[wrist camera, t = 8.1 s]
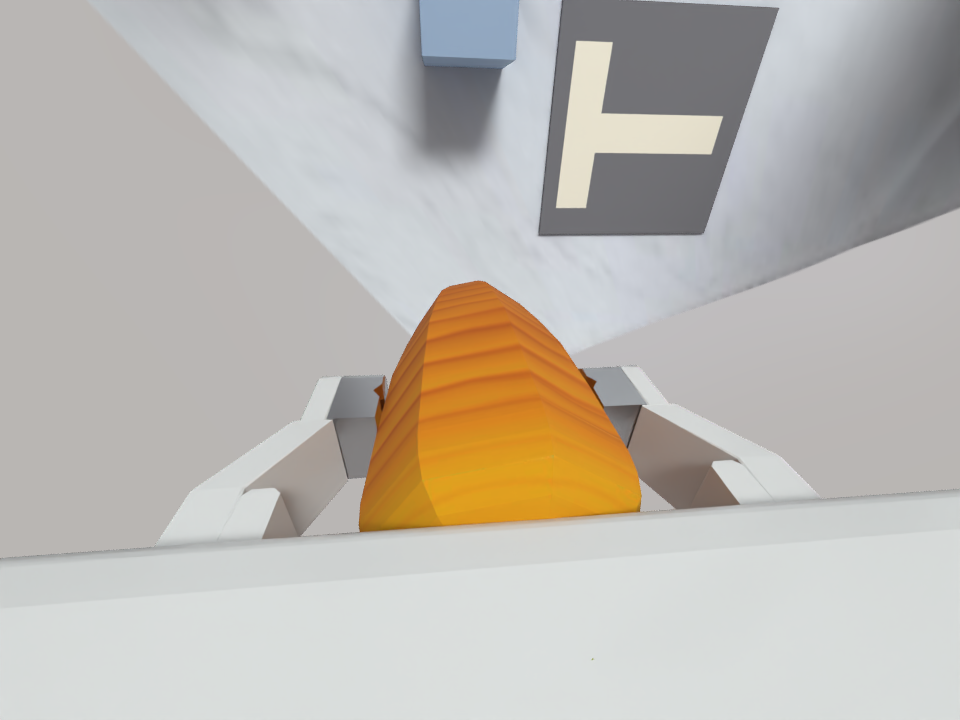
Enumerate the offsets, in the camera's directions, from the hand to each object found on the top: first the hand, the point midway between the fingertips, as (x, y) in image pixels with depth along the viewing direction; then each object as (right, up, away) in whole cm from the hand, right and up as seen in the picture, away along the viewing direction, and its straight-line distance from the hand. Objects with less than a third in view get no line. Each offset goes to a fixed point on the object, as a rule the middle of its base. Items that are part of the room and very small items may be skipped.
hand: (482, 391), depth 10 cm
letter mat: (+12, +17, +18) cm, 27 cm away
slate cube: (-1, +22, +13) cm, 25 cm away
